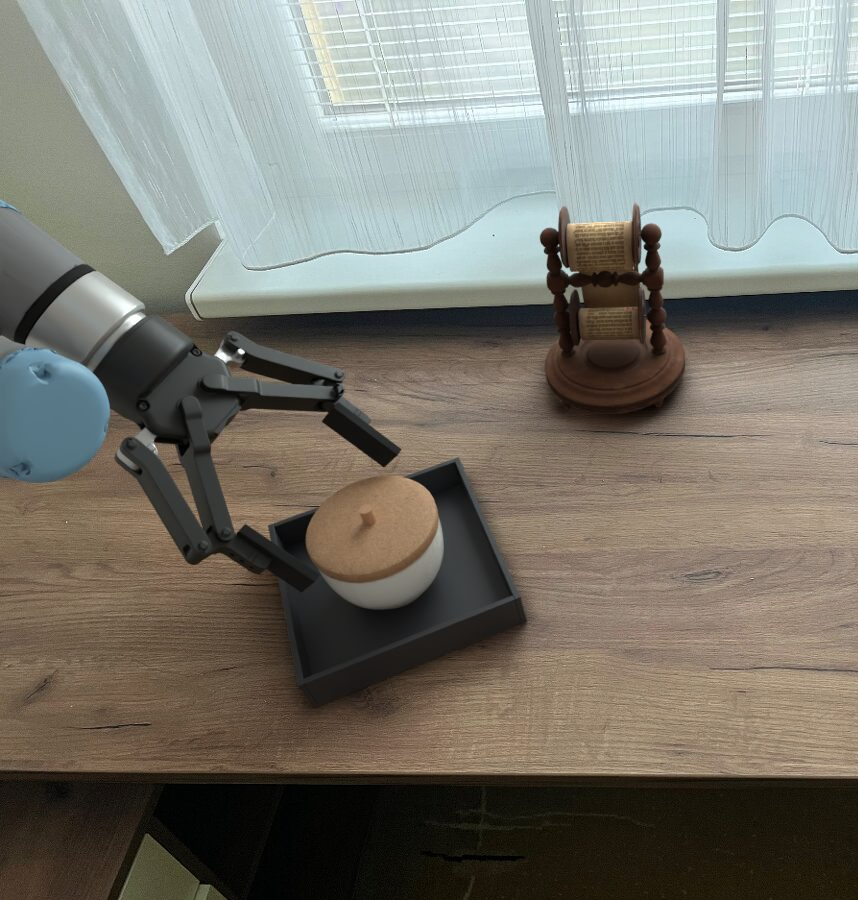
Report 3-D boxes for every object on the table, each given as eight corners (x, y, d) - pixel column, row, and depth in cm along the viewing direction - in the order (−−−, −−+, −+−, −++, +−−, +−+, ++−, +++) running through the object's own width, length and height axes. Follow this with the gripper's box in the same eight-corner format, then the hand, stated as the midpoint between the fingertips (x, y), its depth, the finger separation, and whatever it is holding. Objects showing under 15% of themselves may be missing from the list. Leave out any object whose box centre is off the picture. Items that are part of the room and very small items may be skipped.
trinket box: (471, 536, 79) (447, 464, 72) (435, 637, 71) (406, 567, 65) (360, 529, 81) (328, 457, 74) (315, 626, 74) (275, 557, 67)
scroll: (687, 333, 98) (680, 165, 84) (684, 424, 87) (676, 249, 73) (557, 336, 100) (529, 173, 86) (538, 425, 89) (504, 256, 75)
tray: (312, 708, 68) (297, 686, 66) (281, 548, 81) (267, 525, 78) (527, 621, 72) (520, 597, 70) (466, 481, 85) (458, 456, 82)
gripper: (204, 281, 75) (403, 432, 81) (-19, 489, 59) (252, 658, 65) (231, 231, 70) (441, 396, 76) (-6, 443, 53) (288, 632, 60)
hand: (354, 517), depth 71 cm, fingers open, 13 cm apart
